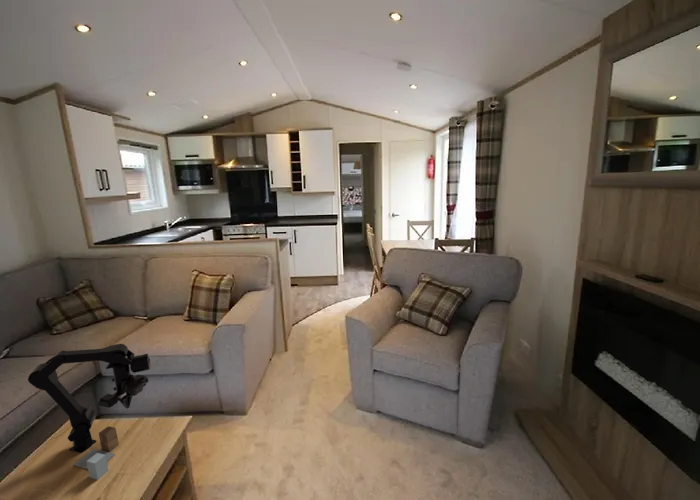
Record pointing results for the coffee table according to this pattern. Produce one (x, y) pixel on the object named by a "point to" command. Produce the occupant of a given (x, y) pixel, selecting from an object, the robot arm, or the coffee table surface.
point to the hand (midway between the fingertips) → (127, 407)
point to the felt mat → (82, 461)
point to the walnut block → (108, 439)
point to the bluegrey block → (97, 466)
